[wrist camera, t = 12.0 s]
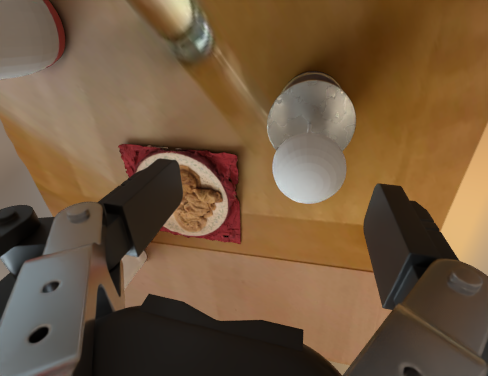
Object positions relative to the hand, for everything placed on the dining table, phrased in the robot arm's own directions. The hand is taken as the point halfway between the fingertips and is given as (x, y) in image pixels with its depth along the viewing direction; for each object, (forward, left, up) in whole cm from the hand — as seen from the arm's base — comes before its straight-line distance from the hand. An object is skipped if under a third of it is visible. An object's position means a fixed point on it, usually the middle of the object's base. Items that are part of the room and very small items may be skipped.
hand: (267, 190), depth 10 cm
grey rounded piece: (+3, +3, -35) cm, 35 cm away
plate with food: (+31, -14, -35) cm, 49 cm away
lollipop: (+3, +3, -23) cm, 23 cm away
